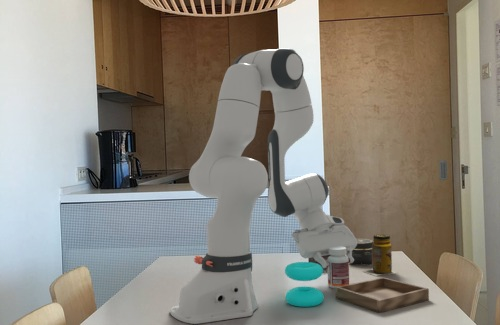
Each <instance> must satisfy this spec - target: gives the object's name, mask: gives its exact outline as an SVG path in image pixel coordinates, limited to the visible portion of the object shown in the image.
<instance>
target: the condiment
mask: <svg viewBox="0 0 500 325" xmlns="http://www.w3.org/2000/svg"><path fill="white" fill-rule="evenodd" d="M372 238H373V239H372V240H373V244H372V259H373V263H372V269H367V270H366V269H365V270H363V272H364V273H367V274H369V275H372V276H375V277H379V276H384V275H392V274H393V275H394V274H398V272H397V271H393V265H392V264H393V263H392V254H393V253H392V244H391V235H389V234H381V233H380V234H379V233H378V234H374V235H373V237H372Z"/></svg>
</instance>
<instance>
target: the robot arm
mask: <svg viewBox="0 0 500 325" xmlns="http://www.w3.org/2000/svg"><path fill="white" fill-rule="evenodd" d="M304 68H305V67H304V62H303V59H302V57H301V55H299V53H298V52H297V51H296V50H295V49H291V48H288V47H287V48H286V47H280V48H277V49H261V50H257V51H253V52H250V53H249V52H248V53H243V54H242V55H239V56H238V57H236V58H235V59H234V61H233V63H232V65H231V66H229V67H228V68H227V70H226V71H225V74H224V77H223V80H222V83H221V86H220V89H219V94H218V99H217V104H216V111H215V116H214V121H213V126H212V131H211V133H210V136H209V138H208V141H207V143H206V145H205V148H204V150H203V151H202V153H201V155H200V157H199V158H198V159H197V160H196V162H195V163H193V165H192V166H191V167H190V169H189V174H188V181H189V182H188V183H189V185H190V187H191V188H192V189H193V191H194V192H196V194H199V195H201V196H204V197H206V198H210V199H217V200H216V201H217V202H216V207H215V211H214V213H213V216H212V217H210V219H209V220H208V221H207V222H206V243H207V244H206V245H207V246H206V247H207V253H206V254H205V255H204V256H200V255H195V257H193V261H194V263H195V264H198V265H201V269H200V270H199V271H198V272H197V273H196V274H195V275H194V276H193V277H192V278H191V279H189V281H187V282H186V283H185V284H184V285H182V287H181V290H180V293H179V299H178V300H179V301H178V304H177V305H174V306H171V307H170V312H169V313H170V315H171V316H172V317H173V318H175V319H177V320H178V321H180V322H183V323H187V324H192V325H193V324H194V325H197V324H204V323H211V322H218V321H224V320H230V319H238V318H247V317H250V316H252V315H253V314H254V311H256V310H257V309H258V308H259V304H258V301H257V298H256V294H255V289H254V283H253V274H252V272H253V253H252V250H251V222H252V221H251V220H252V215H253V211H254V208H255V206H256V203H257V201H258V200H259V198H260V197H261V196H262V195H263V194H264V193H265V191H266V189H268V190H267V200H268V204H269V208H270V210H271V212H272V213H274V214H275V215H277V216H280V217H283V218H286V217H288V216H291V215H293V217H294V218H295V219H296V220H297V221H298V225H299V227H300V229H295V230H294V231H292V234H291V236H292V238H293V240H294V243H295V245H296V248H297V251H298V253H299V255H300V257H302V258H303V259H306V260H307V259H308V258H312V257H314V259H315V260H316V261H317V262H319V263H320V264H321V265H322V267H323V268H326V269H328V266H330V263H329V262H328V260H325V259H324V258H323V257H321V256H324V255H330V254H329V248H331V247H337V246H340V247H346V251H347V257H348V259H349V265H350V263H353V262H354V258H353V257H352V251H353V250H354V248H355V247H356V246H357V240H356V239H357V238H356V236H355V235H354V233H353V232H352V231H351V230H350V228H349V227H348V226H347V225H345V221H344V219H343V218H341V217H337V216H332V215H329V214H326V212H325V211H324V210H323V209H322V206H324V204H325V203H326V200H327V198H328V196H329V193H330V189H329V186H328V184H327V182H326V180H325V179H324V178H323V176H321V175H320V174H318V173H316V172H313V173H312V172H311V173H308V174H305V175H302V176H298V177H296V178H292V179H290V180H286V170H285V169H286V166H285V157H286V154H287V153H288V152H287V151H288V150H289V149H290V148H291V147H292V146H293V145H294V144H295V143H296V142H298V141H300V140H301V139H302V138H303V137H305V135H306V134H307V133H308V132H309V131H310V129H311V128H312V126H313V123H314V109H313V103H312V98H311V95H310V94H311V93H310V91H309V88H308V85H307V82H306V78H305V77H304V70H305V69H304ZM262 91H266V92H267V91H269V92H270V93H271V96H272V103H273V104H272V106H273V109H274V110H273V111H274V124H273V128H272V129H271V131H270V132H269V133H268V136H267V167H268V172H267V169H266V166H265V165H264V164H263V163H262V162H261V161H259V160H256V159H253V158H250V157H247V156H242V155H243V153H244V152H245V151H244V150H245V149H246V148H247V146H249V144H250V143H251V142H252V141H253V140H254V138H255V137H256V131H257V126H258V118H259V112H260V105H261V97H262ZM267 187H268V188H267Z"/></svg>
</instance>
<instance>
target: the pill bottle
mask: <svg viewBox="0 0 500 325" xmlns="http://www.w3.org/2000/svg"><path fill="white" fill-rule="evenodd" d="M329 254H330V255H331V256H329V257H328V259H327V260H328V262H329V263H330V266H328V268H327V285H328V287H329V288H331V289H336V287H339V286H344V285H349V284H350V264H349V259H348V257H347V256H346V254H347V251H346V247H340V246H337V247H331V248H329Z"/></svg>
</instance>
